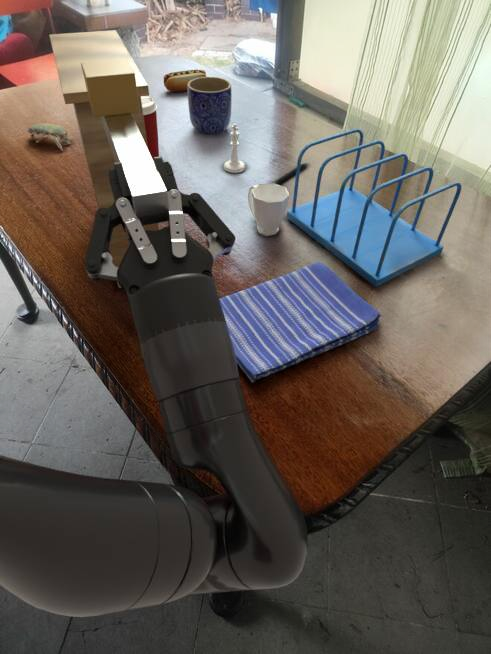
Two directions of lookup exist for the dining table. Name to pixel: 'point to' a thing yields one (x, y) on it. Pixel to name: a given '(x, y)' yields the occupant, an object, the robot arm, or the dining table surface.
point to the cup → (268, 206)
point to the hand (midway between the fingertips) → (137, 165)
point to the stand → (95, 142)
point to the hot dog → (181, 79)
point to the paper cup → (150, 125)
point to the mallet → (126, 135)
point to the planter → (209, 104)
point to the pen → (288, 175)
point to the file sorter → (368, 220)
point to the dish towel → (294, 319)
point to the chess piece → (234, 154)
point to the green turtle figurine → (49, 132)
